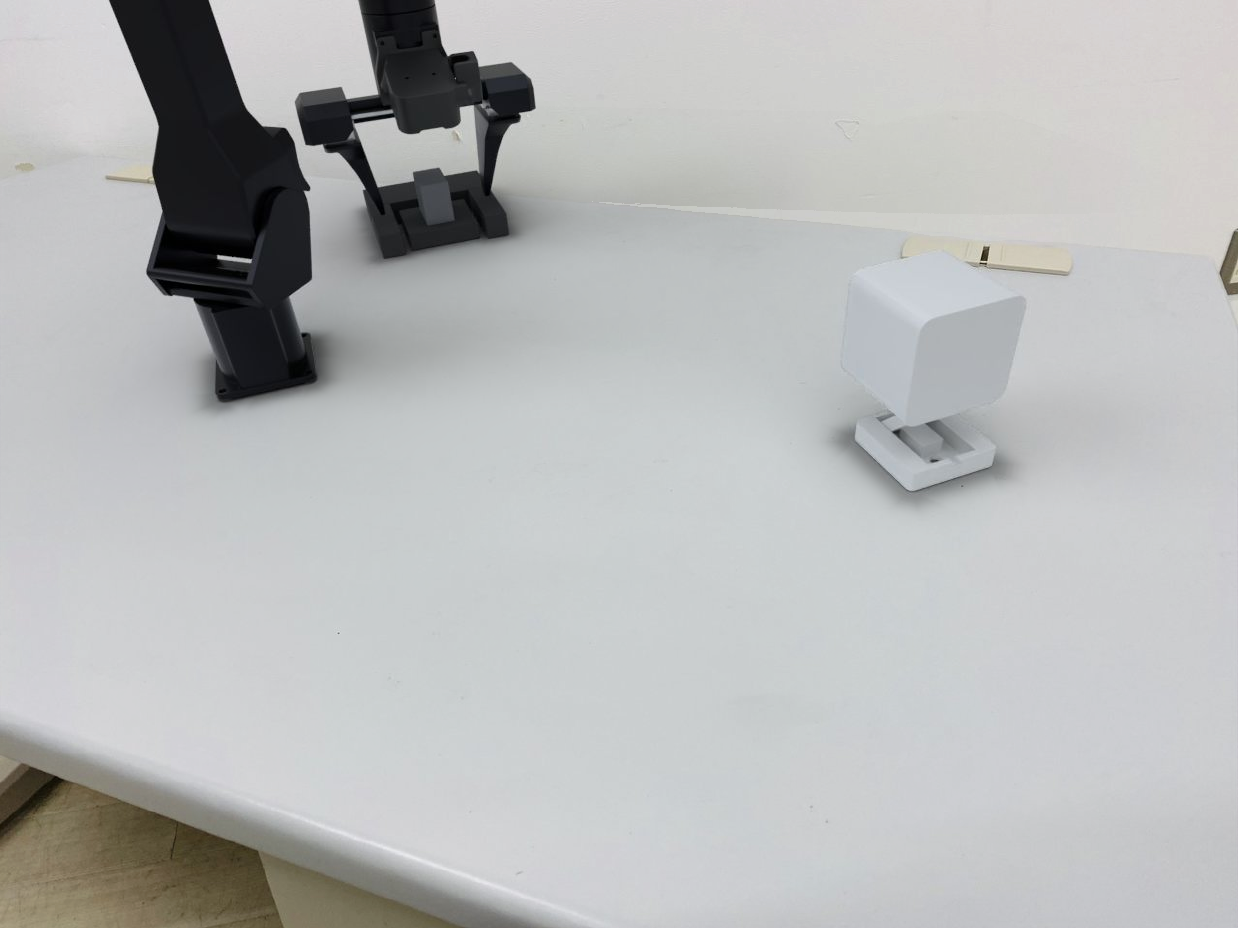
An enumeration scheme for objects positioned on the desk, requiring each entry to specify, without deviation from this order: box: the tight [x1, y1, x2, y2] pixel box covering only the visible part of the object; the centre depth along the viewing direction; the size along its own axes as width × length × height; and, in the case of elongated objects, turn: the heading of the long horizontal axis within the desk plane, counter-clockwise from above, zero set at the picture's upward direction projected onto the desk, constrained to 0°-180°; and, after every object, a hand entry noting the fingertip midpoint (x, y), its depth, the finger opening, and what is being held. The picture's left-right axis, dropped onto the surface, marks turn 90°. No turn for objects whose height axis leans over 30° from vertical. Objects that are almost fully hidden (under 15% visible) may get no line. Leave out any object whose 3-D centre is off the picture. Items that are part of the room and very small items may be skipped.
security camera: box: [839, 249, 1028, 492], centre depth 48 cm, size 6×7×10 cm
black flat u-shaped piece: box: [362, 169, 510, 259], centre depth 81 cm, size 12×11×2 cm
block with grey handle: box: [399, 167, 481, 251], centre depth 78 cm, size 6×6×5 cm
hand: (435, 204), depth 78 cm, fingers open, 9 cm apart
